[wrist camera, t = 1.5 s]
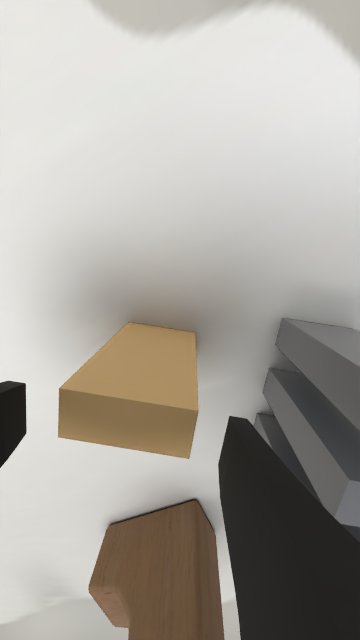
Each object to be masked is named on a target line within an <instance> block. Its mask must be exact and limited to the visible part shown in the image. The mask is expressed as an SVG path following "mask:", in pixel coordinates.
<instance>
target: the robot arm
mask: <svg viewBox="0 0 360 640" xmlns="http://www.w3.org/2000/svg"><path fill="white" fill-rule="evenodd" d="M25 434H26V383H19V382H13V381H6V382H2V383H0V468H1V466H2V465H3V464H4V463H5V462H6V460H7V459H8V458H9V456H10V455H11V454H12V452H13V451H14V450H15V448H16V447H17V446H18V444H19V443H20V441H21V440H22V438H23V437H24V436H25ZM218 466H219V485H220V499H221V505H222V512H223V518H224V524H225V531H226V537H227V543H228V549H229V555H230V561H231V568H232V574H233V580H234V586H235V592H236V600H237V607H238V615H239V624H240V636H241V640H360V542H359V541H358V540H357V539H356V538H355V537H354V536H353V535H352V534H351V533H350V532H349V531H348V530H346V529H345V528H344V527H343V526H342V525H341V524H340V523H339V522H338V521H337V520H336V519H335V518H334V517H333V516H332V515H331V514H330V513H329V512H328V511H327V510H326V509H325V508H324V507H323V505H322V504H321V503H320V502H319V501H318V500H317V499H316V498H315V497H314V496H313V495H312V494H311V493H310V492H309V491H308V490H307V488H306V487H305V486H304V485H303V484H302V483H301V482H300V481H299V480H298V479H297V477H296V476H295V475H294V474H293V473H292V472H291V471H290V470H289V468H288V467H287V466H286V465H285V464H284V463H283V461H282V460H281V459H280V458H279V457H278V456H277V454H276V453H275V452H274V451H273V450H272V448H271V447H270V446H269V445H268V444H267V442H266V441H265V440H264V439H263V437H262V436H261V435H260V434H259V433H258V431H257V430H256V429H255V428H254V426H253V425H252V424H251V423H250V422H249V421H248V419H245V418H239V417H232V416H229V420H228V425H227V429H226V433H225V438H224V442H223V446H222V451H221V455H220V459H219V464H218Z"/></svg>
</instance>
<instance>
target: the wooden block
mask: <svg viewBox="0 0 360 640" xmlns="http://www.w3.org/2000/svg"><path fill="white" fill-rule="evenodd" d="M89 593H90V594H91V596H92V597H93V598H94V600H95V601H96V602H97V604H98V605H99V607H100V608H101V609H102V610H103V612H104V613H105V615H106V616H107V617H108V619H109V620H110V622H111V623H112V624H113V625H114V626H115V627H124V628H129V640H224V629H223V617H222V606H221V594H220V582H219V570H218V558H217V546H216V535H215V533H214V531H213V529H212V528H211V526H210V524H209V522H208V520H207V518H206V516H205V515H204V513H203V511H202V509H201V507H200V505H199V503H198V502H197V501H190V502H187V503H183V504H180V505H177V506H173V507H170V508H167V509H163V510H160V511H157V512H153V513H150V514H147V515H143V516H140V517H137V518H133V519H130V520H127V521H123V522H120V523H117V524H113V525H110V526H109V527H108V528H107V530H106V533H105V536H104V540H103V543H102V546H101V549H100V552H99V555H98V558H97V561H96V565H95V568H94V571H93V574H92V577H91V580H90V583H89Z"/></svg>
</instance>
